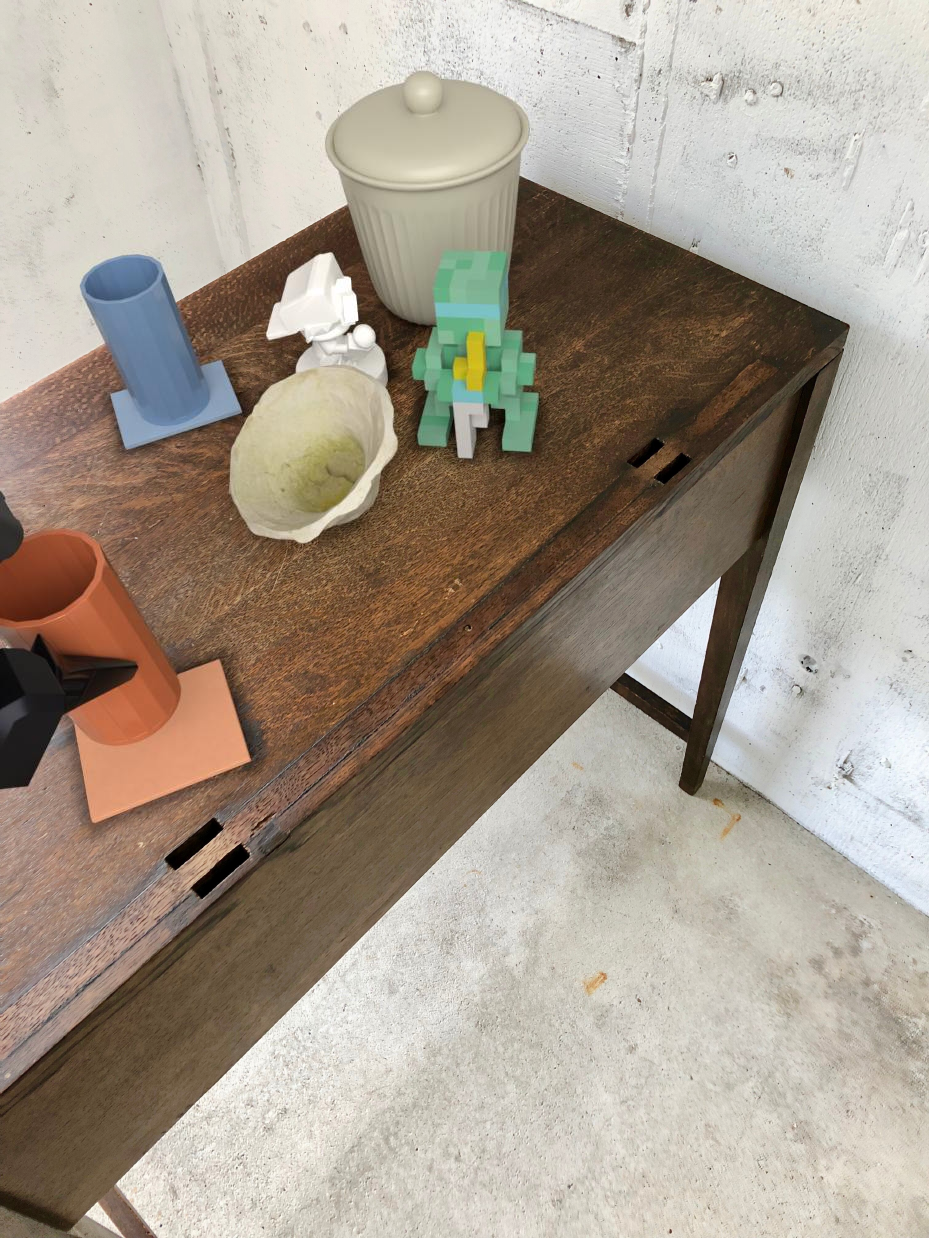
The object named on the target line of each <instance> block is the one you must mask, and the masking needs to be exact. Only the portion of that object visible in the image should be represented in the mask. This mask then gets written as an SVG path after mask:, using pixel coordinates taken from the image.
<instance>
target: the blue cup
mask: <svg viewBox="0 0 929 1238" xmlns="http://www.w3.org/2000/svg"><path fill="white" fill-rule="evenodd" d="M79 289H80V293H81V296H82V298H83V300H84V302H85V304H86V305H87V309H88V311H89V312H90V314H91V316H92V318H93V321H94V323H95V325H96V327H97V329H98V331H99V333H100V335H101V337H102V339H103V341H104V344H105V346H106V348H107V350H108V353H109V354H110V356H111V358H112V361H113V363H114V364H115V366H116V369H117V371H118V373H119V375H120V377H121V379H122V381H123V383H124V386H125V387H126V389H127V390H128V392H129V394H130V396H131V398H132V400H133V402H134V404H135V406H136V408H137V411H138V412H139V414H140V415H141V417H142V418H143V419H144V420H146V421H147V422H149V423H151V424H154V425H160V426H170V425H177V424H180V423H184V422H186V421H188V420H191V419H192V418H194V417H196V416H197V415H199V414H200V413H201V412H202V411H203V410H204V409H205V408H206V406H207V404H208V403H209V400H210V391H209V388H208V385H207V382H206V380H205V377H204V375H203V372H202V369H201V367H200V366H201V363H200V361H199V359H198V356H197V354H196V352H195V349H194V346H193V344H192V341H191V338H190V336H189V332H188V331H187V328H186V325H185V321H184V320H183V318H182V317H183V316H182V314H181V312H180V310H179V309H180V308H179V307H178V304H177V302H176V299H175V296H174V294H173V291H172V288H171V286H170V283H169V280H168V278H167V276H166V272H165V270H164V268H163V265H162V262H160V261H159V260H157V259H156V258H154V257H153V256H150V255H145V254H138V253H137V254H123V255H122V254H121V255H118V256H114V257H112V258H107V259H105V260H104V261H102V262H100V263H98V264H96V265H94V266H93V267H92V268H90V269H89V271H87V272H86V273H85V274H84V275H83V277H82V279H81V281H80V284H79Z"/></svg>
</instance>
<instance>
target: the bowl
mask: <svg viewBox="0 0 929 1238" xmlns="http://www.w3.org/2000/svg"><path fill="white" fill-rule="evenodd" d="M394 420H395V409H394V404H393V403H392V398H391V396H390V393H389V391H388V389H387V387H386V388H385V387H384V386H383V385H382V384H381V383H379V382H378V380H377V379H375V378H374V377H372V376H371V375H368V374H366V373H365V372H363V371H361V370H359V369H357V368H356V367H353V366H350V365H327V366H321V367H316V368H311V369H307V370H305V371H302V372H298V373H296V372H295V373H293V374H292V375H289V376H288V377H286V378H284V379H282V380H279V381H278V382H275V383H273V384H271V385H270V386H269V387H268V388H267V389H266V390H265V392H264V393H263V394H262V395H261V396H260V398H259V400H258V402H257V403H256V404H255V405H254V407H253V410H252V412H251V414H249V415H248V417H247V418H246V419H245V422H244V423H243V425H242V427H241V429H240V431H239V434H238V435H237V436H236V439H235V441H234V443H233V445H232V446H231V451H230V465H229V488H228V494H230V495H231V499H232V501H233V503H234V505H235V506H236V507H237V510H238V513H239V514H240V517H241V518H242V519H243V520H244V522H245V523H246V525H247V527H248V529H249V530H250V532H252V534H253V535H256V536H258V537H266V538H270V539H274V540H288V541H295V542H297V543H299V544H307V543H309V542H311V541H312V540H314V539H315V538H317V537H319V535H320V534H321V533H322V532H323V531H325V530H328V529H331V528H333V526H341V525H343V524H347V523H350V522H351V521H353V520H356V519H358V518H359V517H361V515H363V514H364V513H365V512H366V511H368V510H369V509H370V508H371V507H372V506H373V505H374V503H375V501H376V499H377V497H378V494H379V491H380V482H381V481H380V480H381V476H382V470H383V469H384V468H385V467H386V466H387V465H388V463H389V462H391V460H392V459H393V458H394V456H395V455H396V453H397V451H398V446H399V441H398V437H397V435H396V433H395V430H394Z"/></svg>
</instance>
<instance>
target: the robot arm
mask: <svg viewBox="0 0 929 1238" xmlns="http://www.w3.org/2000/svg"><path fill="white" fill-rule="evenodd" d="M5 500H6V496H5V495H4V493H3V492H2V491H1V490H0V564H1V563H2V561H4V560H5V559H9V558H11V557H12V556H13V555H14V554H15V553H16V552H17V550H18V549H19V548H20V546H21V544H22V541H23V538H24V537H25V530H24V527H23V524H22V522H21V521H20V520H19V519H18V518H16V516H15V515H14V513H13V512H12V510H11V508H10V507H9V505H8V503H7V501H5ZM137 670H138V665H137V663H136V662H134V661H128V660H123V659H117V658H106V657H93V656H80V655H68V654H59V653H57V652H56V651H55V650H54V649H53V648H52V646H51V645H50V644H49V643H48V642H47V640H46V639H45V638H44V637H43V636H42V635H41V634H37V636H36V638H35V640H34V643H33V645H32V647H31V649H30V651H28V650H26V649H24V648H10V647H0V790H9V789H19V788H26V787H29V786H30V783H31V782H32V780H33V778H34V776H35V773H36V771H37V769H38V767H39V766H40V763H41V761H42V759H43V757H44V755H45V753H46V751H47V750H48V747H49V745H50V742H51V741H52V739H53V736H54V735H55V733H56V730H57V728H58V727H59V724H60V723H61V721H62V718H63V716H65V715H67V713H68V712H70V711H72V710H74V709H76V708H78V707H80V706H81V705H83V704H85V703H87V702H89V701H91V700H93V699H95V698H97V697H99V696H101V695H103V694H105V693H107V692H109V691H111V690H112V689H114V688H116V687H118V686H120V685H122V684H124V683H126V682H128V681H130V680H132V679H133V677H134V676H135V674H136V672H137Z"/></svg>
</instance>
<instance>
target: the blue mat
mask: <svg viewBox="0 0 929 1238" xmlns="http://www.w3.org/2000/svg"><path fill="white" fill-rule="evenodd" d="M200 367H201V369H202V372H203V375H204V377H205V380H206V382H207V385H208V388H209V391H210V400H209V403H208V404H207V406H206V408H205V409H204V410H203V411H202V412H201V413H200V414H199V415H197V416H196V417H194V418H192V419H191V420H188V421H186V422H184V423H180V424H177V425H170V426H160V425H154V424H151V423H149V422H147V421H146V420H144V419H143V418H142V417H141V415H140V414H139V412H138V411H137V408H136V406H135V404H134V402H133V400H132V398H131V396H130V394H129V392H128V390H127V388H126V389H122V390H119V391H116V392H112V393H110V394H109V395H110V399H111V402H112V403H111V404H112V406H113V410H114V414H115V417H116V421H117V424H118V427H119V432H120V435H121V439H122V442H123V445H124V448H125V450H126V451H128V450H132V449H135V448H137V447H141V446H144V445H147V444H150V443H153V442H157V441H160V440H162V439H165V438H169V437H173V436H175V435H177V434H178V435H179V434H181V433H184V432H187V431H190V430H193V429H196V428H199V427H202V426H206V425H209V424H213V423H215V422H218V421H221V420H225V419H227V418H231V417H234V416H237V415H240V414H242V413H243V410H242V407H241V405H240V402H239V400H238V397H237V395H236V393H235V390H234V388H233V386H232V382H231V380H230V377H229V375H228V373H227V371H226V368H225V366H224V364H223V361H222V359H219V360H215V361H212V362H210V363H205V364H202V365H200Z"/></svg>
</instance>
